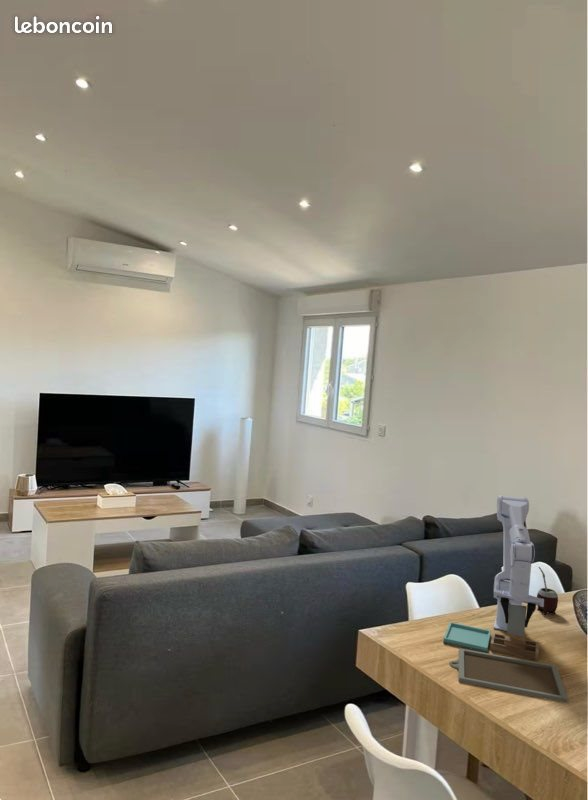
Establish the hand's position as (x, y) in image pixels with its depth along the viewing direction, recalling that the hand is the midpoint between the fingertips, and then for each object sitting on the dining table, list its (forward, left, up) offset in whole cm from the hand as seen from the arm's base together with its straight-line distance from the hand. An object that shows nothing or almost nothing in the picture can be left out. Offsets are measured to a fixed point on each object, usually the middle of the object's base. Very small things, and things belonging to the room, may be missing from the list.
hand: (516, 624), depth 185 cm
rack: (+3, 0, -7) cm, 8 cm away
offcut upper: (+4, 0, -6) cm, 7 cm away
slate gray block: (0, 0, -3) cm, 3 cm away
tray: (+2, -14, -7) cm, 16 cm away
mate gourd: (-38, +9, -7) cm, 40 cm away
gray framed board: (+21, -2, -8) cm, 22 cm away
